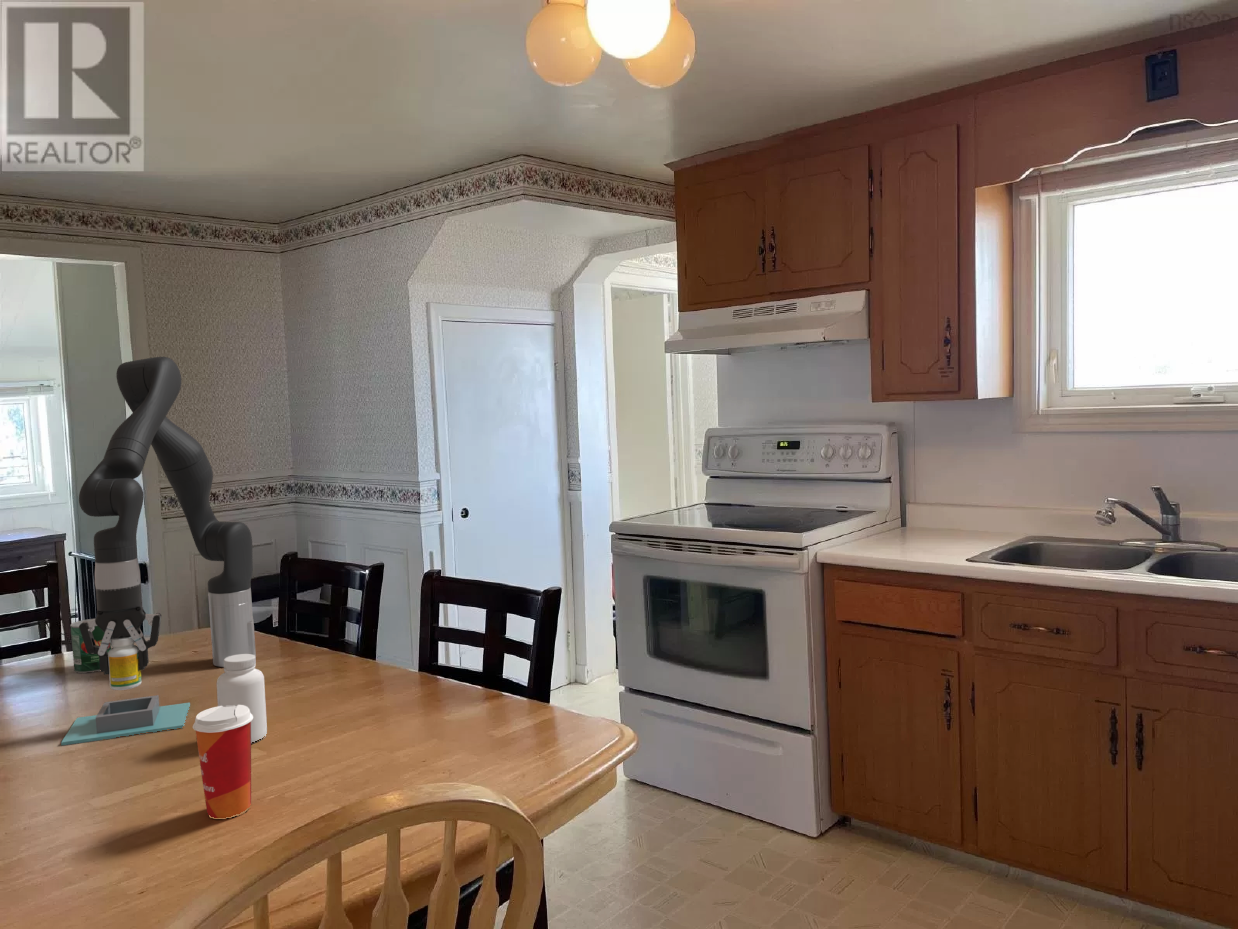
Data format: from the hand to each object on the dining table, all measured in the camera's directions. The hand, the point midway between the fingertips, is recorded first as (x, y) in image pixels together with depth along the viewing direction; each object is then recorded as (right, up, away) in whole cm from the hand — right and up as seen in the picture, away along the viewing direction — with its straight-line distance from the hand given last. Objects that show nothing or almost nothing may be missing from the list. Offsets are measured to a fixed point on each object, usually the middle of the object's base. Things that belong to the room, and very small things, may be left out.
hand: (124, 670), depth 174 cm
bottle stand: (+1, -10, +1) cm, 10 cm away
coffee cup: (+36, -12, -38) cm, 54 cm away
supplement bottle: (0, -3, 0) cm, 3 cm away
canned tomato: (-29, -9, +40) cm, 50 cm away
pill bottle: (+26, -10, -9) cm, 30 cm away
